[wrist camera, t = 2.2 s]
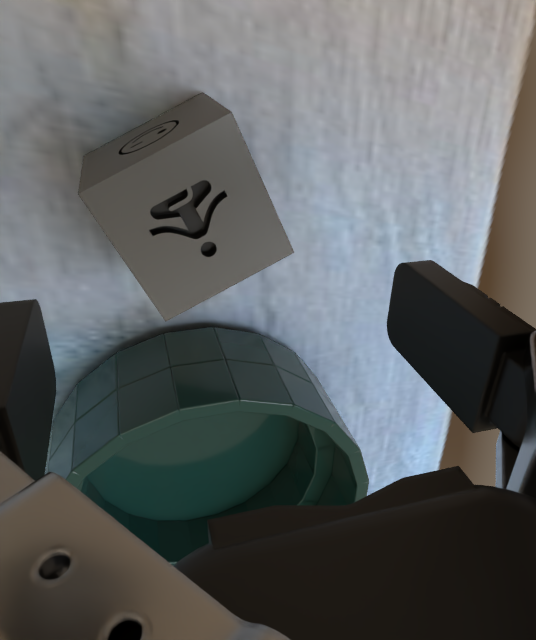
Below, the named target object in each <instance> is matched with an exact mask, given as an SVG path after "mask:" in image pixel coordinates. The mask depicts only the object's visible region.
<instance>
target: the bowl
mask: <svg viewBox="0 0 536 640" xmlns="http://www.w3.org/2000/svg"><path fill="white" fill-rule="evenodd" d="M48 472H54V473H57V474H58V475H60V476H62V477H63V478H64V479H66V480H67V481H68V482H69V483H71V484H72V485H73V486H74V487H76V488H77V489H78V490H79V491H81V492H82V493H83V494H84V495H86V496H87V497H88V498H89V499H91V500H92V501H93V502H94V503H95V504H97V505H98V506H99V507H100V508H102V509H103V510H104V511H105V512H107V513H108V514H109V515H110V516H112V517H113V518H114V519H115V520H117V521H118V522H119V523H120V524H122V525H123V526H124V527H125V528H127V529H128V530H129V531H130V532H132V533H133V534H134V535H135V536H137V537H138V538H139V539H140V540H142V541H143V542H144V543H145V544H147V545H148V546H149V547H150V548H152V549H153V550H154V551H155V552H156V553H158V554H159V555H160V556H161V557H163V558H164V559H165V560H166V561H168V562H169V563H170V564H171V565H175V564H176V563H177V562H178V561H180V560H181V559H182V558H184V557H185V556H187V555H188V554H190V553H191V552H193V551H195V550H196V549H198V548H200V547H202V546H204V545H206V544H208V543H209V538H208V522H207V520H209V519H214V518H219V517H223V516H228V515H233V514H237V513H242V512H247V511H251V510H256V509H261V508H265V507H270V506H274V505H323V506H342V505H349V504H352V503H354V502H356V501H358V500H360V499H362V498H364V497H366V496H367V490H368V484H369V479H368V475H367V471H366V468H365V464H364V461H363V457H362V454H361V450H360V448H359V446H358V445H357V443H356V441H355V440H354V438H353V436H352V435H351V433H350V432H349V430H348V428H347V427H346V425H345V423H344V422H343V420H342V418H341V417H340V415H339V413H338V412H337V410H336V408H335V407H334V405H333V403H332V402H331V400H330V398H329V397H328V395H327V393H326V392H325V390H324V388H323V387H322V385H321V383H320V382H319V380H318V378H317V377H316V376H315V375H314V373H313V372H312V371H311V370H310V369H309V368H308V367H307V366H306V364H305V363H304V362H303V361H302V360H301V359H300V358H299V356H298V355H297V354H296V353H295V352H293V351H292V350H290V349H288V348H286V347H284V346H282V345H280V344H278V343H276V342H274V341H272V340H270V339H268V338H266V337H264V336H262V335H260V334H256V333H250V332H243V331H237V330H230V329H224V328H217V327H214V328H213V327H208V328H201V329H193V330H185V331H177V332H169V333H164V334H161V335H158V336H156V337H153V338H151V339H149V340H146V341H144V342H141V343H139V344H136V345H134V346H132V347H129V348H127V349H124V350H122V351H119V352H118V353H117V354H114V355H113V356H112V357H110V358H109V359H108V360H107V361H105V362H104V363H103V364H102V365H100V366H99V367H98V368H97V369H95V370H94V371H93V372H91V373H90V374H89V375H88V376H86V377H85V378H84V379H83V380H81V381H80V382H79V384H77V385H76V387H75V388H74V390H73V391H72V393H71V394H70V396H69V397H68V399H67V400H66V402H65V404H64V405H63V407H62V408H61V410H60V411H59V413H58V414H57V416H56V417H55V420H54V422H53V428H52V433H51V439H50V444H49V450H48V455H47V463H46V470H45V474H46V473H48Z"/></svg>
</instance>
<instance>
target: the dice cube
mask: <svg viewBox="0 0 536 640" xmlns="http://www.w3.org/2000/svg"><path fill="white" fill-rule="evenodd" d="M78 195H79V196H80V198H81V199H82V201H83V202H84V204H85V205H86V206H87V208H88V209H89V211H90V212H91V214H92V215H93V217H94V218H95V220H96V221H97V222H98V224H99V225H100V227H101V228H102V230H103V231H104V233H105V234H106V236H107V237H108V238H109V240H110V241H111V243H112V244H113V246H114V247H115V249H116V250H117V252H118V253H119V255H120V256H121V257H122V259H123V260H124V262H125V263H126V265H127V266H128V268H129V269H130V271H131V272H132V273H133V275H134V276H135V278H136V279H137V281H138V282H139V284H140V285H141V287H142V288H143V289H144V291H145V292H146V294H147V295H148V297H149V298H150V300H151V301H152V303H153V304H154V305H155V307H156V308H157V310H158V311H159V313H160V314H161V316H162V317H163V319H164V320H165V322H166V321H168V320H170V319H171V318H173V317H175V316H177V315H179V314H181V313H183V312H184V311H186V310H188V309H190V308H192V307H194V306H196V305H197V304H199V303H201V302H203V301H205V300H207V299H209V298H211V297H212V296H214V295H216V294H218V293H220V292H222V291H224V290H225V289H227V288H229V287H231V286H233V285H235V284H237V283H238V282H240V281H242V280H244V279H246V278H248V277H250V276H251V275H253V274H255V273H257V272H259V271H261V270H263V269H264V268H266V267H268V266H270V265H272V264H274V263H276V262H278V261H279V260H281V259H283V258H285V257H287V256H289V255H291V254H292V253H294V251H293V248H292V246H291V244H290V242H289V240H288V237H287V235H286V233H285V231H284V228H283V226H282V224H281V222H280V219H279V217H278V215H277V213H276V210H275V208H274V206H273V204H272V201H271V199H270V197H269V195H268V192H267V190H266V188H265V186H264V183H263V181H262V179H261V177H260V175H259V172H258V170H257V168H256V166H255V163H254V161H253V159H252V157H251V154H250V152H249V150H248V148H247V145H246V143H245V141H244V139H243V136H242V134H241V132H240V130H239V127H238V125H237V123H236V121H235V118H234V116H233V114H232V112H231V111H229V110H228V109H226V108H225V107H224V106H222V105H221V104H219V103H218V102H216V101H215V100H214V99H212V98H211V97H209V96H208V95H206V94H205V93H201V94H199V95H197V96H195V97H193V98H191V99H190V100H188V101H186V102H184V103H182V104H180V105H178V106H176V107H175V108H173V109H171V110H169V111H167V112H165V113H163V114H161V115H160V116H158V117H156V118H154V119H152V120H150V121H148V122H146V123H145V124H143V125H141V126H139V127H137V128H135V129H133V130H131V131H130V132H128V133H126V134H124V135H122V136H120V137H118V138H116V139H115V140H113V141H111V142H109V143H107V144H105V145H103V146H101V147H100V148H98V149H96V150H94V151H92V152H90V153H88V154H86V155H85V156H84V157H83V164H82V171H81V177H80V184H79V191H78Z"/></svg>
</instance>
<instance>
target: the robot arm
mask: <svg viewBox="0 0 536 640" xmlns="http://www.w3.org/2000/svg"><path fill="white" fill-rule="evenodd" d="M387 331H388V336H389V339H390V341H391V343H392V345H393V346H394V347H395V349H396V350H397V351H398V352H399V353H400V354H401V355H402V356H403V357H404V358H405V359H406V361H407V362H408V363H409V364H410V365H411V366H412V367H413V368H414V369H415V370H416V372H417V373H418V374H419V375H420V376H421V377H422V378H423V379H424V380H425V381H426V382H427V384H428V385H429V386H430V387H431V388H432V389H433V390H434V391H435V392H436V393H437V394H438V396H439V397H440V398H441V399H442V400H443V401H444V402H445V403H446V404H447V405H448V407H449V408H450V409H451V410H452V411H453V412H454V413H455V414H456V415H457V416H458V417H459V419H460V420H461V421H462V422H463V423H464V424H465V425H466V426H467V427H468V428H469V430H470V431H471V432H472V433H475V432H481V431H486V430H491V429H496V428H498V429H499V430H500V434H499V437H498V440H497V444H496V487H493V486H484V485H474V484H473V483H472V482H471V481H470V479H469V478H468V477H467V476H466V475H465V473H464V472H463V471H462V470H461V468H460V467H459V466H456V467H452V468H447V469H442V470H437V471H433V472H428V473H423V474H419V475H414V476H409V477H405V478H402V479H400V480H398V481H396V482H394V483H392V484H390V485H388V486H386V487H384V488H382V489H380V490H378V491H376V492H374V493H372V494H370V495H368V496H366V497H364V498H362V499H360V500H358V501H356V502H354V503H352V504H349V505H342V506H323V505H274V506H270V507H265V508H261V509H256V510H251V511H247V512H242V513H237V514H233V515H228V516H223V517H219V518H214V519H209V520H207V522H208V538H209V543H208V544H206V545H204V546H202V547H200V548H198V549H196V550H195V551H193V552H191V553H190V554H188V555H187V556H185V557H184V558H182V559H181V560H180V561H178V562H177V563H176V564H175V565H171V564H170V563H169V562H168V561H166V560H165V559H164V558H163V557H161V556H160V555H159V554H158V553H156V552H155V551H154V550H153V549H152V548H150V547H149V546H148V545H147V544H145V543H144V542H143V541H142V540H140V539H139V538H138V537H137V536H135V535H134V534H133V533H132V532H130V531H129V530H128V529H127V528H125V527H124V526H123V525H122V524H120V523H119V522H118V521H117V520H115V519H114V518H113V517H112V516H110V515H109V514H108V513H107V512H105V511H104V510H103V509H102V508H100V507H99V506H98V505H97V504H95V503H94V502H93V501H92V500H91V499H89V498H88V497H87V496H86V495H84V494H83V493H82V492H81V491H79V490H78V489H77V488H76V487H74V486H73V485H72V484H71V483H69V482H68V481H67V480H66V479H64V478H63V477H62V476H60V475H58V474H57V473H54V472H48V473H46V474H45V468H46V461H47V454H48V446H49V439H50V432H51V425H52V418H53V410H54V403H55V396H56V377H55V369H54V364H53V360H52V355H51V351H50V347H49V342H48V338H47V334H46V329H45V325H44V321H43V316H42V312H41V308H40V305H39V303H38V301H37V300H36V299H33V300H23V301H13V302H3V303H0V640H536V329H535V328H534V327H532V326H531V325H529V324H528V323H526V322H525V321H523V320H522V319H521V318H519V317H518V316H516V315H515V314H513V313H512V312H510V311H509V310H508V309H506V308H505V307H500V304H499V303H497V302H496V301H495V300H493V299H492V298H488V296H487V295H486V294H484V293H483V292H482V291H480V290H479V289H477V288H476V287H474V286H473V285H470V284H468V283H465V282H463V281H461V280H460V279H458V278H457V277H455V276H454V275H452V274H451V273H450V272H448V271H447V270H445V269H444V268H442V267H441V266H440V265H438V264H437V263H435V262H434V261H431V260H427V261H417V262H407V263H401V264H399V265H398V266H397V268H396V270H395V273H394V279H393V286H392V292H391V299H390V305H389V312H388V319H387Z"/></svg>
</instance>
